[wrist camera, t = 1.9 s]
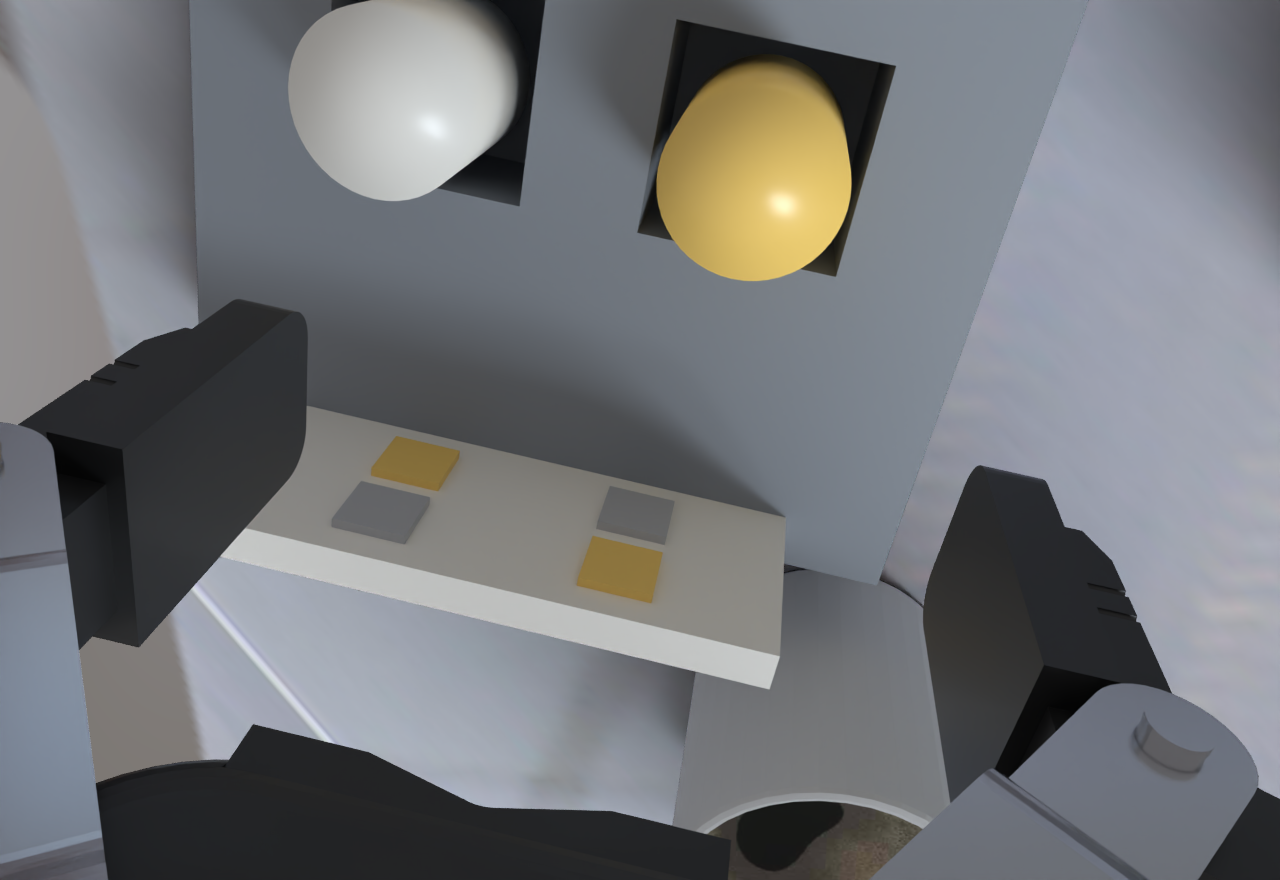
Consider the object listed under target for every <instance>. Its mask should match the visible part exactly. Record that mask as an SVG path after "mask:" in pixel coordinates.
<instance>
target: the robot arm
mask: <svg viewBox="0 0 1280 880" xmlns="http://www.w3.org/2000/svg"><path fill="white" fill-rule="evenodd" d="M307 357H308V330H307V324H306V320H305V318H304V316H303V315H302V314H301V313H300V312H297V311H292V310H288V309H283V308H279V307H274V306H270V305H265V304H261V303H256V302H252V301H247V300H243V299H235V300H233V301H231V302H230V303H228V304H227V305H225V306H224V307H223V308H221V309H220V310H218V311H217V312H216V313H214V314H213V315H211V316H210V317H208V318H207V319H206V320H204V321H203V322H201V323H200V324H198V325H197V326H196V327H194V328H193V329H189V328H183V329H180V330H176V331H173V332H170V333H167V334H163V335H160V336H157V337H154V338H150V339H147V340H144V341H142V342H141V343H139V344H138V345H136V346H135V347H133V348H132V349H130V350H129V351H127V352H126V353H124V354H123V355H121V356H120V357H118V358H117V359H115V363H114V365H113V364H108V365H106V366H105V367H104V368H102V369H100V370H99V371H97V372H96V373H94V374H93V375H91V379H90V381H88V380H84V381H82V382H81V383H79V384H78V385H76V386H75V387H74V388H72V389H71V390H69V391H68V392H66V393H65V394H63V395H62V396H60V397H59V398H57V399H56V400H54V401H53V402H51V403H50V404H48V405H47V406H45V407H44V408H42V409H41V410H39V411H38V412H36V413H35V414H33V415H32V416H30V417H29V418H27V419H26V420H24V421H23V422H21V423H20V424H18V425H15V424H10V423H3V422H0V880H728V873H729V861H730V849H731V840H729V839H725V838H721V837H716V836H712V835H708V834H704V833H700V832H696V831H692V830H688V829H683V828H679V827H675V826H671V825H667V824H663V823H659V822H654V821H650V820H646V819H642V818H638V817H634V816H630V815H626V814H621V813H617V812H613V811H587V810H550V809H513V808H489V807H483V806H479V805H475V804H473V803H470V802H468V801H466V800H464V799H462V798H460V797H458V796H456V795H454V794H452V793H450V792H448V791H446V790H444V789H442V788H440V787H438V786H436V785H434V784H432V783H430V782H428V781H426V780H424V779H421V778H419V777H417V776H415V775H413V774H411V773H409V772H407V771H405V770H403V769H401V768H399V767H397V766H395V765H393V764H391V763H389V762H387V761H385V760H383V759H381V758H379V757H377V756H375V755H373V754H371V753H369V752H365V751H361V750H357V749H353V748H349V747H345V746H341V745H337V744H332V743H328V742H324V741H320V740H316V739H312V738H308V737H304V736H299V735H295V734H291V733H287V732H283V731H279V730H275V729H270V728H266V727H262V726H258V725H254V724H253V725H252V727H251V728H250V730H249V731H248V733H247V734H246V736H245V737H244V739H243V740H242V742H241V743H240V745H239V746H238V748H237V749H236V750H235V752H234V753H233V755H232V756H231V758H230V759H229V760H201V761H187V762H179V763H173V764H167V765H160V766H154V767H150V768H146V769H142V770H138V771H134V772H130V773H126V774H122V775H119V776H116V777H113V778H110V779H107V780H104V781H101V782H98V783H95V775H94V767H93V759H92V751H91V743H90V735H89V728H88V719H87V711H86V703H85V695H84V687H83V679H82V671H81V663H80V656H79V650H80V649H81V648H82V647H83V646H84V645H85V644H86V642H87V641H88V640H89V639H90V638H91V637H92V636H93V637H97V638H102V639H106V640H110V641H114V642H118V643H123V644H126V645H131V646H135V647H140V646H141V644H142V643H143V642H144V641H145V640H146V639H147V638H148V636H149V635H150V634H151V633H152V632H153V631H154V630H155V628H156V627H157V626H158V625H159V624H160V623H161V622H162V621H163V620H164V619H165V618H166V616H167V615H168V614H169V613H170V612H171V611H172V610H173V609H174V607H175V606H176V605H177V604H178V603H179V602H180V601H181V600H182V598H183V597H184V596H185V595H186V594H187V593H188V592H189V591H190V589H191V588H192V587H193V586H194V585H195V584H196V583H197V582H198V580H199V579H200V578H201V577H202V576H203V575H204V574H205V573H206V572H207V570H208V569H209V568H210V567H211V566H212V565H213V564H214V563H215V561H216V560H217V559H218V558H219V557H220V556H221V555H222V554H223V552H224V551H225V550H226V549H227V548H228V547H229V546H230V545H231V543H232V542H233V541H234V540H235V539H236V538H237V537H238V536H239V535H240V533H241V532H242V531H243V530H244V529H245V528H246V527H247V526H248V524H249V523H250V522H251V521H252V520H253V519H254V518H255V517H256V515H257V514H258V513H259V512H260V511H261V510H262V509H263V508H264V506H265V505H266V504H267V503H268V502H269V501H270V500H271V499H272V498H273V496H274V495H275V494H276V493H277V492H278V491H279V490H280V489H281V487H282V486H283V485H284V484H285V483H286V482H287V481H288V480H289V478H290V477H291V476H292V474H293V472H294V471H295V469H296V467H297V464H298V462H299V460H300V457H301V454H302V450H303V446H304V442H305V436H306V414H307ZM1125 592H1126V590H1125V588H1124V586H1123V584H1122V582H1121V579H1120V577H1119V575H1118V573H1117V571H1116V568H1115V566H1114V564H1113V562H1112V560H1111V559H1110V558H1109V557H1108V556H1107V555H1106V554H1105V553H1104V552H1103V551H1102V550H1101V549H1100V548H1099V547H1098V546H1097V545H1096V544H1095V543H1094V542H1093V541H1092V540H1091V539H1090V538H1089V537H1088V536H1087V535H1086V534H1085V533H1084V532H1083V531H1080V530H1076V529H1071V528H1067V527H1064V524H1063V522H1062V519H1061V517H1060V514H1059V512H1058V509H1057V507H1056V504H1055V502H1054V499H1053V497H1052V494H1051V492H1050V489H1049V487H1048V485H1047V483H1046V481H1045V480H1043V479H1039V478H1034V477H1030V476H1025V475H1021V474H1017V473H1012V472H1008V471H1003V470H999V469H994V468H990V467H985V466H981V465H980V466H977V467H976V468H975V469H974V470H973V471H972V473H971V474H970V476H969V478H968V480H967V482H966V484H965V487H964V489H963V492H962V494H961V497H960V499H959V502H958V505H957V507H956V510H955V512H954V515H953V518H952V520H951V523H950V525H949V528H948V531H947V533H946V536H945V538H944V541H943V544H942V546H941V549H940V551H939V554H938V557H937V559H936V562H935V564H934V567H933V569H932V572H931V575H930V578H929V582H928V585H927V589H926V594H925V600H924V608H923V629H924V635H925V642H926V648H927V655H928V661H929V668H930V674H931V681H932V687H933V694H934V700H935V707H936V713H937V720H938V726H939V733H940V739H941V746H942V752H943V759H944V765H945V772H946V778H947V785H948V791H949V798H950V804H949V805H948V806H947V807H946V808H945V809H944V810H943V811H942V812H941V813H940V814H939V815H938V816H936V817H935V818H934V819H933V820H932V821H931V822H930V823H929V824H928V825H927V826H926V827H925V828H924V829H923V830H921V831H920V832H919V833H918V834H917V835H916V836H915V837H914V838H913V839H912V840H911V841H910V842H909V843H908V844H907V845H905V846H904V847H903V848H902V849H901V850H900V851H899V852H898V853H897V854H896V855H895V856H894V857H893V858H892V859H890V860H889V861H888V862H887V863H886V864H885V865H884V866H883V867H882V868H881V869H880V870H879V871H878V872H877V873H876V874H874V875H873V876H872V877H871V878H870V879H869V880H1280V799H1279V798H1277V797H1275V796H1273V795H1271V794H1269V793H1267V792H1264V791H1263V790H1261V789H1259V788H1257V787H1258V778H1259V776H1258V772H1257V768H1256V765H1255V763H1254V761H1253V759H1252V757H1251V755H1250V754H1249V752H1248V751H1247V749H1246V748H1245V746H1244V745H1243V744H1242V743H1241V741H1240V740H1239V739H1238V738H1237V737H1236V736H1235V735H1234V734H1233V733H1232V732H1231V731H1230V730H1229V729H1228V728H1227V727H1226V726H1225V725H1223V724H1222V723H1221V722H1220V721H1218V720H1217V719H1216V718H1214V717H1213V716H1212V715H1210V714H1209V713H1207V712H1206V711H1204V710H1203V709H1201V708H1200V707H1198V706H1196V705H1194V704H1192V703H1191V702H1189V701H1187V700H1185V699H1183V698H1181V697H1178V696H1176V695H1174V694H1172V692H1171V690H1170V688H1169V686H1168V683H1167V681H1166V679H1165V677H1164V674H1163V672H1162V670H1161V668H1160V666H1159V663H1158V661H1157V659H1156V657H1155V655H1154V652H1153V650H1152V648H1151V646H1150V644H1149V641H1148V639H1147V637H1146V635H1145V632H1144V630H1143V628H1142V626H1141V624H1140V623H1139V622H1136V618H1137V615H1136V613H1135V610H1134V608H1133V606H1132V604H1131V602H1130V599H1129V597H1125Z"/></svg>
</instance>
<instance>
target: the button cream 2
mask: <svg viewBox="0 0 1280 880" xmlns="http://www.w3.org/2000/svg"><path fill="white" fill-rule="evenodd" d="M529 84H530V72H529V63H528V57H527V54H526V50H525V47H524V44H523V42H522V40H521V37H520V35H519V33H518V32H517V30H516V28H515V26H514V25H513V23H512V22H511V21H510V19H509V18H508V17H507V16H506V14H505V13H504V12H503V11H502V10H501V9H500V8H499V7H498V6H496V5H495V4H494V3H493V2H491V1H490V0H369V1H365V2H360V3H356V4H351V5H347V6H344V7H341V8H338V9H336V10H334V11H332V12H330V13H328V14H326V15H324V16H323V17H322V18H320V19H319V20H318V21H316V22H315V23H314V24H313V25H312V26H311V27H310V28H309V29H308V31H307V32H306V33H305V35H304V36H303V38H302V39H301V41H300V43H299V45H298V46H297V48H296V50H295V53H294V56H293V59H292V62H291V67H290V71H289V81H288V95H289V104H290V110H291V114H292V118H293V121H294V125H295V127H296V130H297V132H298V134H299V137H300V139H301V141H302V142H303V144H304V146H305V148H306V149H307V151H308V152H309V154H310V155H311V157H312V158H313V159H314V160H315V162H316V163H317V164H318V165H319V166H320V167H321V169H323V170H324V171H325V172H326V173H327V174H328V175H329V176H330V177H331V178H333V179H334V180H335V181H337V182H338V183H339V184H341V185H342V186H344V187H346V188H347V189H349V190H351V191H353V192H355V193H358V194H360V195H362V196H366V197H369V198H372V199H377V200H384V201H402V200H410V199H413V198H417V197H420V196H423V195H425V194H427V193H429V192H431V191H433V190H434V189H436V188H438V187H439V186H440V185H442V184H443V183H444V182H446V181H447V180H448V179H450V178H451V177H452V176H454V175H455V174H456V173H457V172H459V171H460V170H461V169H463V168H464V167H465V166H467V165H468V164H469V163H471V162H472V161H473V160H475V159H476V158H477V157H478V156H480V155H481V154H482V153H484V152H485V151H486V150H488V149H489V148H490V147H492V146H493V145H494V144H496V143H497V142H498V141H499V140H501V139H502V138H503V137H504V136H505V135H507V134H508V133H509V132H510V130H511V129H512V128H513V127H514V126H515V124H516V123H517V121H518V120H519V118H520V116H521V114H522V112H523V110H524V108H525V104H526V101H527V98H528V92H529Z"/></svg>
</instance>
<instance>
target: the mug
mask: <svg viewBox="0 0 1280 880" xmlns="http://www.w3.org/2000/svg"><path fill="white" fill-rule="evenodd" d="M949 804H950V798H949V791H948V785H947V778H946V772H945V765H944V759H943V752H942V746H941V739H940V733H939V726H938V720H937V713H936V707H935V700H934V694H933V687H932V681H931V674H930V668H929V661H928V655H927V648H926V642H925V635H924V629H923V608H922V607H921V606H920V605H919V604H918V603H917V602H915V601H914V600H913V599H912V598H910V597H909V596H907V595H906V594H904V593H903V592H901V591H900V590H898V589H897V588H895V587H893V586H891V585H888V584H886V583H884V582H882V581H880V580H879V582H878V584H877V585H872V584H868V583H864V582H860V581H855V580H851V579H847V578H843V577H838V576H834V575H830V574H826V573H821V572H817V571H813V570H798V571H793V572H788V573H784V575H783V598H782V621H781V644H780V658H779V661H778V664H777V667H776V670H775V674H774V677H773V680H772V683H771V686H770V689H765V688H761V687H757V686H753V685H749V684H745V683H741V682H737V681H732V680H728V679H724V678H720V677H716V676H712V675H708V674H703V673H699V672H696V674H695V681H694V687H693V694H692V700H691V707H690V713H689V720H688V726H687V733H686V740H685V746H684V753H683V759H682V766H681V772H680V779H679V785H678V792H677V799H676V805H675V812H674V818H673V825H672V826H675V827H679V828H683V829H688V830H692V831H696V832H700V833H704V834H708V835H712V836H716V837H721V838H725V839H729V840H731V849H730V861H729V873H728V880H869V879H870V878H871V877H872V876H873V875H874V874H876V873H877V872H878V871H879V870H880V869H881V868H882V867H883V866H884V865H885V864H886V863H887V862H888V861H889V860H890V859H892V858H893V857H894V856H895V855H896V854H897V853H898V852H899V851H900V850H901V849H902V848H903V847H904V846H905V845H907V844H908V843H909V842H910V841H911V840H912V839H913V838H914V837H915V836H916V835H917V834H918V833H919V832H920V831H921V830H923V829H924V828H925V827H926V826H927V825H928V824H929V823H930V822H931V821H932V820H933V819H934V818H935V817H936V816H938V815H939V814H940V813H941V812H942V811H943V810H944V809H945V808H946V807H947V806H948V805H949Z"/></svg>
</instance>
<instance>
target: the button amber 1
mask: <svg viewBox="0 0 1280 880" xmlns="http://www.w3.org/2000/svg"><path fill="white" fill-rule="evenodd" d="M851 184H852V183H851V169H850V162H849V154H848V147H847V140H846V133H845V126H844V120H843V115H842V111H841V108H840V105H839V103H838V100H837V98H836V96H835V94H834V93H833V91H832V90H831V88H830V87H829V85H828V84H827V83H826V82H825V80H824V79H823V78H822V77H821V76H820V75H819V74H818V73H816V72H815V71H814V70H813V69H811V68H810V67H808V66H807V65H805V64H803V63H801V62H799V61H797V60H795V59H792V58H789V57H785V56H781V55H774V54H758V55H751V56H747V57H743V58H740V59H737V60H735V61H732V62H730V63H728V64H726V65H725V66H723V67H721V68H720V69H718V70H717V71H716V72H715V73H713V74H712V75H711V76H710V77H709V78H708V79H707V80H706V81H705V82H704V83H703V84H702V86H701V87H700V88H699V90H698V91H697V92H696V94H695V96H694V97H693V99H692V101H691V102H690V104H689V105H688V107H687V109H686V110H685V112H684V114H683V115H682V117H681V119H680V120H679V122H678V123H677V125H676V127H675V128H674V130H673V132H672V133H671V135H670V137H669V139H668V141H667V142H666V144H665V147H664V149H663V152H662V154H661V158H660V162H659V166H658V172H657V199H658V205H659V209H660V213H661V216H662V219H663V221H664V224H665V226H666V228H667V230H668V232H669V233H670V235H671V237H672V239H673V240H674V241H675V243H676V244H677V245H678V246H679V248H680V249H681V250H682V251H683V252H684V253H685V254H686V255H687V256H688V257H689V258H690V259H692V260H693V261H694V262H696V263H697V264H698V265H700V266H702V267H703V268H705V269H707V270H708V271H710V272H713V273H715V274H717V275H720V276H723V277H727V278H730V279H735V280H742V281H762V280H770V279H775V278H779V277H782V276H785V275H788V274H791V273H793V272H795V271H797V270H799V269H801V268H803V267H804V266H806V265H807V264H809V263H810V262H812V261H813V260H814V259H815V258H816V257H818V256H819V255H820V254H821V253H822V252H823V251H824V250H825V249H826V248H827V246H828V245H829V244H830V243H831V242H832V240H833V239H834V237H835V236H836V234H837V233H838V231H839V229H840V227H841V225H842V223H843V221H844V218H845V216H846V213H847V210H848V206H849V201H850V197H851Z"/></svg>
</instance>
